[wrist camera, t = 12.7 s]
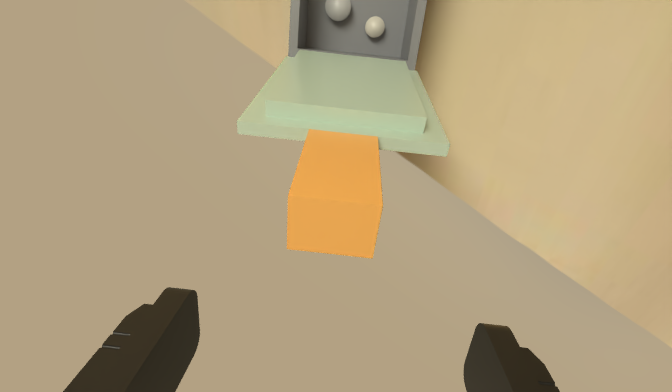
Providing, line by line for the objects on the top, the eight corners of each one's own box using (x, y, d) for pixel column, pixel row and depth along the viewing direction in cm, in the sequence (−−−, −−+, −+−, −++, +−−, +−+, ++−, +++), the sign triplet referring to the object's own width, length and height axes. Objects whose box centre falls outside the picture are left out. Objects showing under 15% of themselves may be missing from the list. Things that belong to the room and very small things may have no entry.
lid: (490, 197, 15) (462, 268, 17) (419, 59, 34) (410, 101, 36) (185, 163, 15) (197, 239, 17) (286, 45, 34) (285, 87, 36)
